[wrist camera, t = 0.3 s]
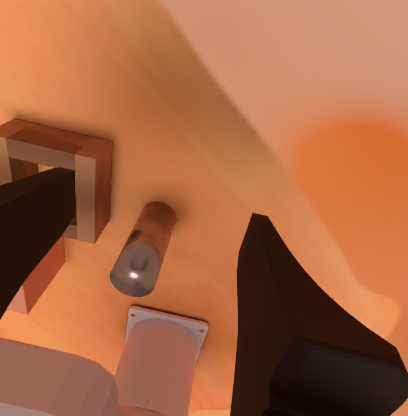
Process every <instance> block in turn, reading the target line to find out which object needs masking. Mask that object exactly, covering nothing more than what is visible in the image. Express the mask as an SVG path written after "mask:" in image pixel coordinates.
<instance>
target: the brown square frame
mask: <svg viewBox="0 0 408 416" xmlns="http://www.w3.org/2000/svg"><path fill="white" fill-rule="evenodd" d="M112 143H113V142H111V141H107V140H103V139H99V138H95V137H90V136H86V135H82V134H78V133H73V132H69V131H65V130H61V129H56V128H52V127H48V126H44V125H39V124H35V123H31V122H27V121H22V120H18V119H13V120H11V121H9V122H7V123H5V124H3V125H1V126H0V185H3V184H6V183H10V182H13V181H16V180H19V179H22V178H25V177H28V176H31V175H34V174H37V173H38V169H37V164H41V165H45V166H49V167H54V168H57V167H62V168H66V169H71V170H75V174H76V213H75V215H74V217H73V219H72V220H71V222H70V224H69V226H68V227H67V229H66V230H65V232H64V233H63V235H62V236H63V237H67V238H72V239H76V240H80V241H85V242H89V243H93V244H95V242H96V241H97V239H98V237H99V236H100V234H101V233H102V231H103V230H104V228H105V227H106V225H107V223H108V222H109V213H110V190H111V167H112Z"/></svg>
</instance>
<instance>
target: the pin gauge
mask: <svg viewBox="0 0 408 416" xmlns="http://www.w3.org/2000/svg"><path fill="white" fill-rule="evenodd" d="M175 223H176V215H175V213H174V211H173V210H172V209H171V208H170V207H169V206H168V205H166V204H164V203H160V202H153V203H149V204H147V205H146V206H145V207H144V208H143V210H142V212H141V214H140V216H139V218H138V220H137V222H136V224H135V226H134V228H133V230H132V232H131V234H130V236H129V238H128V240H127V242H126V243H125V245H124V247H123V249H122V251H121V253H120V255H119V257H118V259H117V261H116V263H115V265H114V267H113V269H112V271H111V273H110V280H111V282H112V284H113V286H114V287H115V288H116V289H117V290H119V291H120V292H122V293H124V294H126V295H129V296H133V297H142V296H146V295H148V294H150V293H151V292H152V291H153V289H154V287H155V284H156V281H157V278H158V275H159V272H160V269H161V266H162V262H163V259H164V256H165V253H166V250H167V247H168V244H169V241H170V238H171V235H172V232H173V229H174V226H175Z"/></svg>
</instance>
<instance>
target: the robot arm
mask: <svg viewBox="0 0 408 416" xmlns="http://www.w3.org/2000/svg"><path fill="white" fill-rule="evenodd" d="M75 213H76V198H75V170H71V169H66V168H62V167H57V168H53V169H50V170H46V171H43V172H40V173H37V174H34V175H31V176H28V177H25V178H22V179H19V180H16V181H13V182H10V183H6V184H3V185H0V319H1V318H2V316H3V314H4V313H5V311H6V309H7V308H8V306H9V305H10V303H11V301H12V300H13V298H14V297H15V295H16V294H17V292H18V291H19V289H20V288H21V286H22V285H23V283H24V282H25V280H26V279H27V278H28V276H29V275H30V274H31V272H32V271H33V270H34V269H35V268H36V266H37V265H38V264H39V263H40V261H41V260H42V259H43V258H44V257H45V255H46V254H47V253H48V252H49V251H50V249H51V248H52V247H53V246H54V245H55V243H56V242H57V241H58V240H59V238H60V237H61V236H62V235H63V233H64V232H65V230H66V229H67V227H68V226H69V224H70V222H71V220H72V219H73V217H74V215H75ZM237 297H238V339H237V352H236V363H235V374H234V384H233V394H232V403H231V412H230V416H390V415H391V414H392V413H393V412H394V411H396V410H397V409H398V408H399V407H400V406H401V405H402V404H403V403H404V402H405V401H406V399H407V398H408V372H407V370H406V368H405V366H404V364H403V361H402V359H401V357H400V355H399V352H398V350H397V348H396V347H394V346H393V345H392V344H390V343H389V342H387V341H386V340H384V339H383V338H381V337H380V336H379V335H377V334H376V333H374V332H373V331H371V330H370V329H368V328H367V327H366V326H364V325H363V324H362V323H360V322H359V321H358V320H357V319H355V318H354V317H353V316H351V315H350V314H349V313H348V312H347V311H345V310H344V309H343V308H342V307H341V306H339V305H338V304H337V303H336V302H335V301H334V300H333V299H332V298H331V297H330V296H329V295H327V294H326V293H325V292H324V291H323V290H322V289H321V288H320V287H319V286H318V285H317V284H316V282H315V281H314V280H313V279H312V278H311V277H310V276H309V275H308V274H307V273H306V271H305V270H304V269H303V268H302V267H301V265H300V264H299V263H298V261H297V260H296V259H295V257H294V256H293V255H292V253H291V252H290V251H289V249H288V248H287V246H286V245H285V243H284V242H283V240H282V239H281V237H280V235H279V234H278V232H277V231H276V229H275V227H274V226H273V224H272V222H271V221H270V219H269V217H268V216H264V215H260V214H256V213H252V216H251V219H250V222H249V225H248V228H247V231H246V233H245V236H244V239H243V242H242V245H241V248H240V250H239V257H238V267H237ZM207 330H208V323H206V322H203V321H199V320H195V319H190V318H186V317H181V316H177V315H173V314H168V313H164V312H160V311H155V310H151V309H147V308H142V307H138V306H131V307H130V308H129V311H128V321H127V330H126V340H125V348H124V350H123V353H122V356H121V359H120V362H119V364H118V367H117V370H116V373H115V376H114V377H113V375H112V374H111V373H110V372H109V371H107V370H106V369H105V368H104V367H102V366H101V365H100V364H99V363H97V362H94V361H92V360H89V359H86V358H84V357H81V356H79V355H75V354H70V353H66V352H62V351H57V350H53V349H49V348H44V347H40V346H35V345H31V344H27V343H22V342H18V341H14V340H9V339H5V338H0V416H188V410H189V403H190V396H191V389H192V383H193V376H194V369H195V366H196V363H197V360H198V357H199V354H200V351H201V348H202V345H203V342H204V339H205V336H206V333H207Z"/></svg>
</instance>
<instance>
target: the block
mask: <svg viewBox="0 0 408 416" xmlns="http://www.w3.org/2000/svg"><path fill="white" fill-rule="evenodd" d="M64 263H65V255H64V238H63V236H61V237H60V238H59V240H58V241H57V242H56V243H55V245H54V246H53V247H52V248H51V249H50V251H49V252H48V253H47V254H46V255H45V257H44V258H43V259H42V260H41V261H40V263H39V264H38V265H37V266H36V268H35V269H34V270H33V271H32V272H31V274H30V275H29V276H28V278H27V279H26V280H25V282H24V283H23V285H22V286H21V288H20V289H19V291H18V292H17V294H16V295H15V297H14V298H13V300H12V301H11V303H10V305H9V306H8V308H7V309H6V310H10V311H14V312H19V313H23V314H27V315H28V313H29V312H30V310H31V309H32V308H33V306H34V305H35V303H36V302H37V301H38V299H39V298H40V296H41V295H42V294H43V292H44V291H45V289H46V288H47V287H48V285H49V284H50V282H51V281H52V279H53V278H54V277H55V275H56V274H57V272H58V271H59V270H60V268H61V267H62V265H63V264H64Z"/></svg>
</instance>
